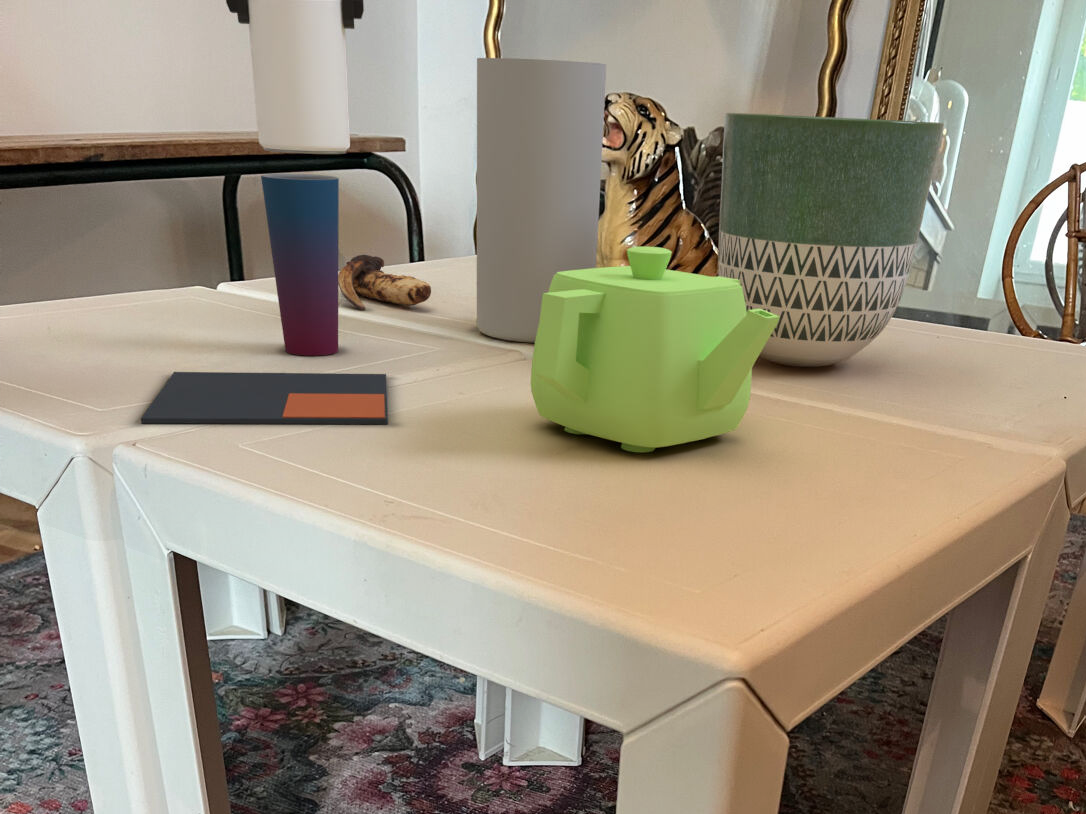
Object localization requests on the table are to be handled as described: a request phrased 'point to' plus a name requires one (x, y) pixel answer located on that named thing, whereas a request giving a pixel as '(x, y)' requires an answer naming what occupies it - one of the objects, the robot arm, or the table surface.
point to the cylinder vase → (534, 184)
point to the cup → (305, 258)
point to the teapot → (646, 352)
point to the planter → (822, 225)
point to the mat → (270, 399)
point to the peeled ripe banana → (379, 283)
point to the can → (300, 75)
